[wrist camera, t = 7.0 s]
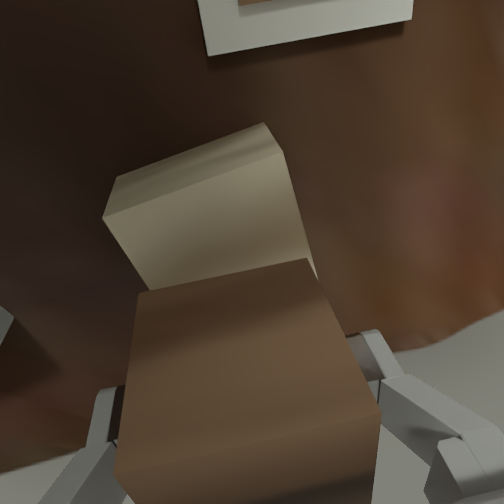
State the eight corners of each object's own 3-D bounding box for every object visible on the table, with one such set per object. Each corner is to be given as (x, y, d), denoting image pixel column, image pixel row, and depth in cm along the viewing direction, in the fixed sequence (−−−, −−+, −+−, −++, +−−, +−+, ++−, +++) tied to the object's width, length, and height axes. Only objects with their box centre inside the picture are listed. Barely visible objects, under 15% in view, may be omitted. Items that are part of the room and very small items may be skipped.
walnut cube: (138, 292, 11) (113, 475, 7) (306, 257, 11) (382, 413, 7) (181, 393, 14) (182, 562, 10) (314, 363, 14) (369, 516, 10)
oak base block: (117, 174, 17) (101, 218, 14) (262, 120, 16) (282, 151, 13) (180, 283, 21) (180, 336, 18) (298, 242, 20) (320, 288, 17)
